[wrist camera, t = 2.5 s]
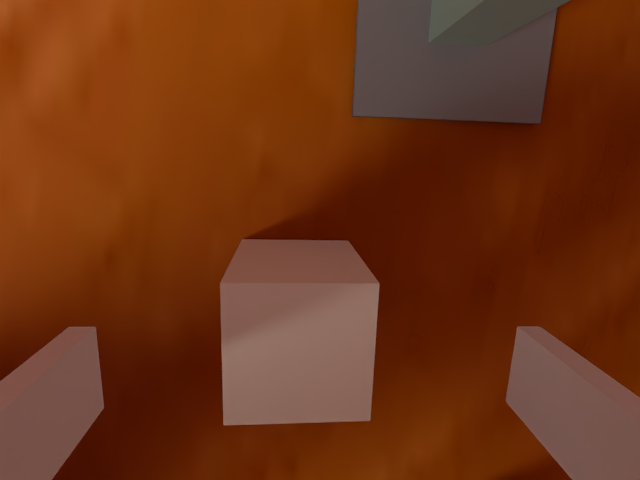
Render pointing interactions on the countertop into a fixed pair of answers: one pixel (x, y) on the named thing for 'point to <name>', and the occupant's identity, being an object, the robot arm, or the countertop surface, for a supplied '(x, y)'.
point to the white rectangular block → (297, 333)
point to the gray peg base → (453, 59)
